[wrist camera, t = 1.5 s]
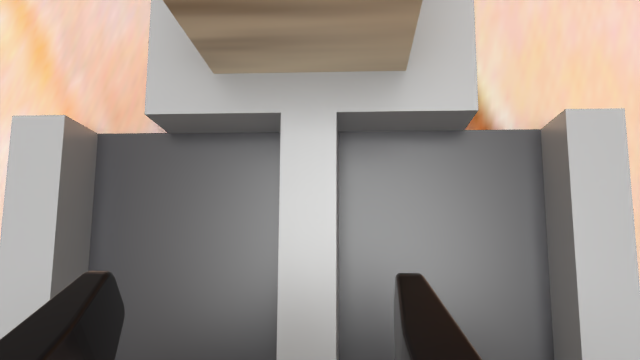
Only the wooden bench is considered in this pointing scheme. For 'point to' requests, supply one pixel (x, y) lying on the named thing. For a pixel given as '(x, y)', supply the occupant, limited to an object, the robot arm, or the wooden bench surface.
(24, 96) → the wooden bench surface
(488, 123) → the wooden bench surface
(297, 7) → the birch block
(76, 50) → the wooden bench surface
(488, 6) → the wooden bench surface
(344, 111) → the trap deck
